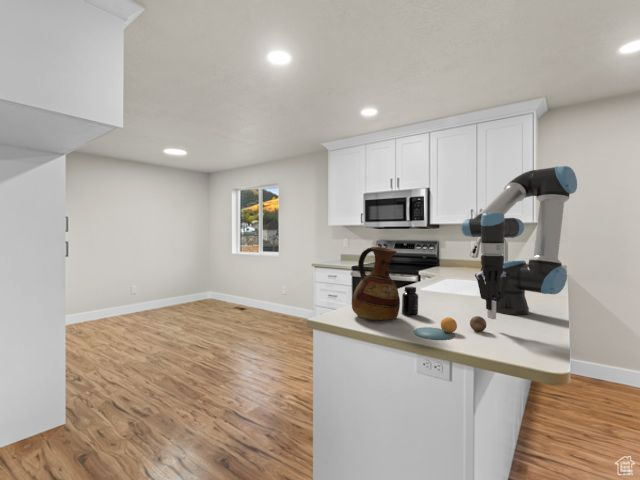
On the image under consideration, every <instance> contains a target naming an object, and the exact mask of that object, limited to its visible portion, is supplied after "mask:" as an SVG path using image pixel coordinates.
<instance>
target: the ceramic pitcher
mask: <svg viewBox="0 0 640 480" xmlns="http://www.w3.org/2000/svg"><path fill="white" fill-rule="evenodd" d="M370 253H373V254H374V267H373V269H372V270H371V273H370V274H366V272H365V264H364V263H365V259H366V257H367V256H368V254H370ZM396 253H398V251H397V250H395V249H390V248H387V247H380V246H377V247H376V246H374V245H373V246H371V247H367V248H366V249H364V250H363V251H362V253H360V256H359V258H358V262H357V263H358V265H357V266H358V270H359V275H360V282H358V284H357V285H356V288H355V290H354V292H353V294H352V299H351V309H352V311H353V313H354V314H355V315H356V316H358V317H360V318H362V319H365V320H372V321H387V320H392V319H396V318H397V317H398V315H399V314H400V313H399V312H400V307H401V306H400V305H401V298H400V293H399V290H398V287H397V285H396V283H395V281H394V280H393V279H392V278H391V277H390V271H389V270H390V269H389V268H390V265H391V259H392V257H393V256H395V254H396Z"/></svg>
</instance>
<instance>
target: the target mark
mask: <svg viewBox="0 0 640 480" xmlns="http://www.w3.org/2000/svg"><path fill="white" fill-rule="evenodd" d="M412 332H413V333H412V334H414V335H415V336H417V337H419V338H423V339H427V340H434V341H444V340H445V341H447V339H448V340H451V338H452V339H454V338H455V334H454V332H452V333H446V332H445V331H443V330H442V328H441V327H440V328H439V327H429V326H428V327H426V326H425V327H417V328H415V329H413V330H412ZM453 337H454V338H453Z"/></svg>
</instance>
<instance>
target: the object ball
mask: <svg viewBox="0 0 640 480" xmlns="http://www.w3.org/2000/svg"><path fill="white" fill-rule="evenodd" d="M457 328H458V324H457V322H456V320H455V319H454V318H453V317H450V316H449V317H448V316H447V317H443V319H442V320H441V321H440V329H442V330H443V331H445V332H446V333H454V332H456V330H457Z"/></svg>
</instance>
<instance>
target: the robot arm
mask: <svg viewBox="0 0 640 480" xmlns="http://www.w3.org/2000/svg"><path fill="white" fill-rule="evenodd" d="M577 189H578V180H577V176H576V173H575V171H574V169H573V168H571V167H570V166H568V165H567V166H566V165H565V166H554V167H548V168H547V167H546V168H541V169H533V170H532V169H531V170H528V171H526V172H523V173H521V174H520V175H518V176H516V177H515V178H513V179H511V180H510V181H509V182H508V183H507V184H506V185H505V186H504V187H503V191H501V193H499V194H498V195H497V196H496V197H495V198H494V199H493V200H492V201H491V202H490V203H489V204H488V205H486V207H484V209H482V210H481V211H480V212H479V213H478V214H477V215H476V216H475V217H474V218H466V219H464V220H463V222H462V223H461V232H462V234H463V236H465V237H471V238H480V253H481V255H480V264H481V265H480V266H481V268H480V272H478V273H474V277H475V279H476V280H477V285H478V290H479V295H480V298H481V299H482V300H485V308H486V310H487V318H488V319H491V320H497V313H500V314H505V315H512V316H521V315H522V316H524V315H528V314H529V313H530V307H529V306H528V302H527V298H526V295H525V294H526V291H527V292H530V293H531V292H533V293H538V294H539V293H540V294H544V295H558V294H559V293H561V292H562V291H563V289H564V288H565V286H566V283H567V280H568V279H567V278H568V274H567V269H566V268H565V267H563V266H562V264H563V263H562V261H560V259H559V250H560V245H561V244H560V243H561V233H562V224H563V217H564V216H563V214H564V207H565V203H567V201H569V200H570V195H571V194H575V192H576V191H577ZM529 197H530V198H531V197H536V200H538V202H539V209H538V216H537V223H536V224H537V226H536V232H535V241H534V250H533V255H532V257H531V258H529V259H528V263H527V262H526V261H525V260H507V261H505V256H504V254H505V239H509V238H511V239H514V238H518V237H520V236H521V235H522V234H523V233H524V231H525V224H524V223H523V221H522V220H521V219H520V218H516V217H505V215H506V214H507V213H508V212H509V211H510V210H511V209H512V208H513V207H514V205H515V206H516V204H517V203H519V202H521V201H523V200H524V199H525V198H529Z"/></svg>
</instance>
